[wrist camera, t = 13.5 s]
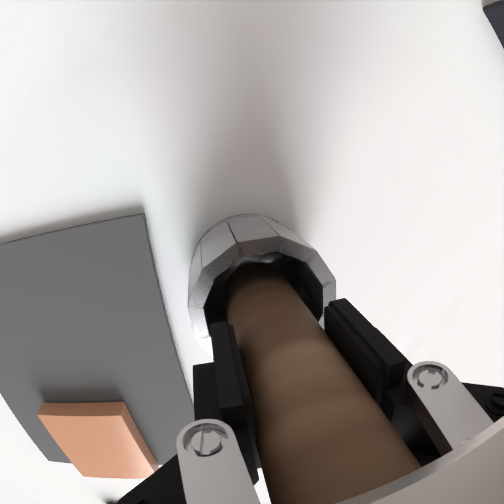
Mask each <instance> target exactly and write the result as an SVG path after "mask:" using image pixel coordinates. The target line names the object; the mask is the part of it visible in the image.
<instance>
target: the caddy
mask: <svg viewBox="0 0 504 504" xmlns="http://www.w3.org/2000/svg"><path fill="white" fill-rule="evenodd" d="M253 262H263V263H267V264H270V265H272V266H274V267H276V268H277V269H278V270H280V271H281V273H282V274H283V275H284V276H285V278H286V279H287V281H288V282H289V283H290V285H291V286H292V287H293V289H294V290H295V291H296V293H297V294H298V295H299V297H300V298H301V300H302V301H303V302H304V304H305V305H306V306H307V308H308V309H309V310H310V312H311V313H312V315H313V316H314V317H315V319H316V320H317V321H318V323H319V324H320V326H321V327H322V328H323V330H324V307H325V306H328V304H329V302H330V301H334V300H336V280H335V278H334V276H333V275H332V273H331V272H330V270H329V268H328V267H327V265H326V264H325V263H324V261H323V260H322V258H321V257H320V255H319V254H318V252H317V251H316V250H315V249H314V248H313V247H311V246H310V245H309V244H308V243H306V242H305V241H304V240H303V239H302V238H300V237H299V236H298V235H297V234H295V233H294V232H293V231H292V230H290V229H289V228H288V227H285V226H283V225H281V224H279V223H278V222H277V221H275V220H273V219H270V218H268V217H265V216H261V215H254V214H245V215H237V216H233V217H230V218H227V219H225V220H223V221H221V222H219V223H217V224H216V225H215V226H213V227H212V228H211V229H210V230H208V231H207V232H206V234H205V235H204V236H203V237H202V238H201V240H200V241H199V243H198V245H197V247H196V249H195V251H194V255H193V258H192V264H191V267H190V270H189V285H188V311H189V315H190V320H191V324H192V328H193V332H194V337H195V340H196V342H197V343H198V344H200V345H201V346H202V347H203V348H204V349H205V350H206V351H207V352H208V353H209V354H210V355H211V356H212V357H213V351H212V342H211V333H210V324H213V323H220V322H226V326H228V320H227V315H226V310H225V305H224V300H223V289H224V285H225V283H226V281H227V279H228V277H229V276H230V275H231V274H232V273H233V272H234V271H235V270H236V269H238V268H239V267H241V266H243V265H245V264H248V263H253Z"/></svg>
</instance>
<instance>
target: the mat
mask: <svg viewBox="0 0 504 504" xmlns="http://www.w3.org/2000/svg"><path fill="white" fill-rule="evenodd" d="M0 393H1V395H2V396H3V398H4V400H5V401H6V403H7V404H8V406H9V408H10V409H11V411H12V412H13V414H14V415H15V417H16V418H17V420H18V421H19V422H20V424H21V425H22V427H23V428H24V429H25V431H26V432H27V434H28V435H29V436H30V438H31V439H32V440H33V442H34V443H35V444H36V445H37V447H38V448H39V449H40V451H41V452H42V453H43V454H44V456H45V457H46V458H47V459H48V460H49V461H54V462H64V463H72V462H71V461H70V460H69V458H68V457H67V456H66V454H65V453H64V452H63V451H62V449H61V448H60V447H59V445H58V444H57V443H56V441H55V440H54V439H53V437H52V436H51V434H50V433H49V432H48V430H47V429H46V427H45V426H44V424H43V423H42V421H41V420H40V418H39V417H38V415H37V414H38V412H39V409H40V407H41V405H42V403H101V402H122V401H124V403H125V405H126V407H127V409H128V411H129V413H130V415H131V417H132V419H133V421H134V422H135V424H136V426H137V428H138V430H139V432H140V434H141V436H142V437H143V439H144V441H145V443H146V445H147V446H148V448H149V450H150V452H151V453H152V455H153V457H154V458H155V460H156V462H157V464H158V465H164V464H165V463H166V462H167V461H169V460H170V459H171V458H172V457H173V456H175V455H176V454H177V446H176V442H177V437H178V435H179V432H180V431H181V430H182V429H183V428H184V427H185V426H187V425H188V424H190V423H192V422H195V418H194V407H193V404H192V401H191V398H190V395H189V391H188V388H187V385H186V382H185V379H184V376H183V372H182V369H181V366H180V362H179V359H178V355H177V352H176V348H175V345H174V341H173V338H172V334H171V330H170V327H169V323H168V319H167V315H166V311H165V307H164V303H163V299H162V295H161V291H160V287H159V283H158V278H157V274H156V269H155V265H154V260H153V256H152V251H151V246H150V241H149V236H148V231H147V226H146V220H145V215H144V213H142V214H136V215H131V216H126V217H120V218H115V219H110V220H105V221H100V222H95V223H90V224H85V225H81V226H76V227H71V228H67V229H62V230H58V231H53V232H49V233H44V234H40V235H36V236H31V237H27V238H23V239H19V240H15V241H11V242H7V243H3V244H0Z"/></svg>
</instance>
